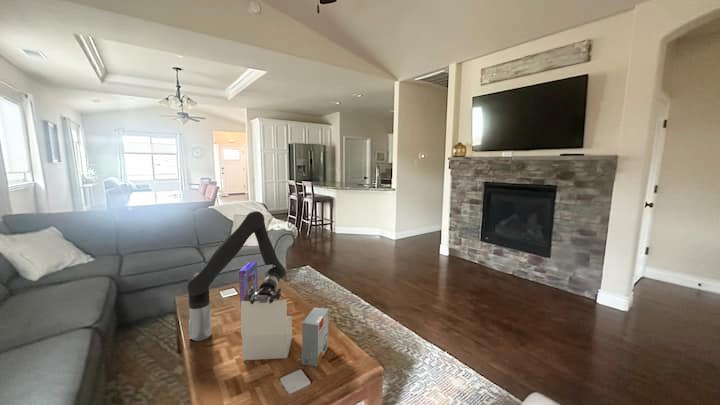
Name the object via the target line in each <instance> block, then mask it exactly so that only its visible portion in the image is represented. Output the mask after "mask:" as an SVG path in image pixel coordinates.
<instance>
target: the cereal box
mask: <svg viewBox="0 0 720 405" xmlns="http://www.w3.org/2000/svg"><path fill="white" fill-rule="evenodd" d="M238 281H239V285H238V286H239V301H240V302H239V305H240V308H241V301H250V300H248V294H249V293H250V291H251V290H252V289H253V290H254V291H257V290H258V289H259V283H258V282H259V278H258V262H257V261H253V260H252V261H249V262H248V263H246V265H244V266H243V267H242V268H241V269H239V270H238ZM255 297H256V296H255Z"/></svg>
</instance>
